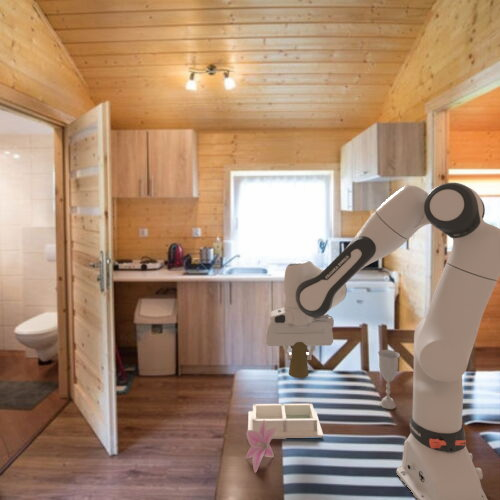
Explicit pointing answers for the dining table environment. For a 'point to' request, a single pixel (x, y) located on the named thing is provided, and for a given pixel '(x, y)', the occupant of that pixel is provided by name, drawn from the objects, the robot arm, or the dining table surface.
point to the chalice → (388, 373)
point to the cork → (298, 361)
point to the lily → (260, 444)
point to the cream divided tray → (286, 420)
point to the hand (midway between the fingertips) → (299, 359)
